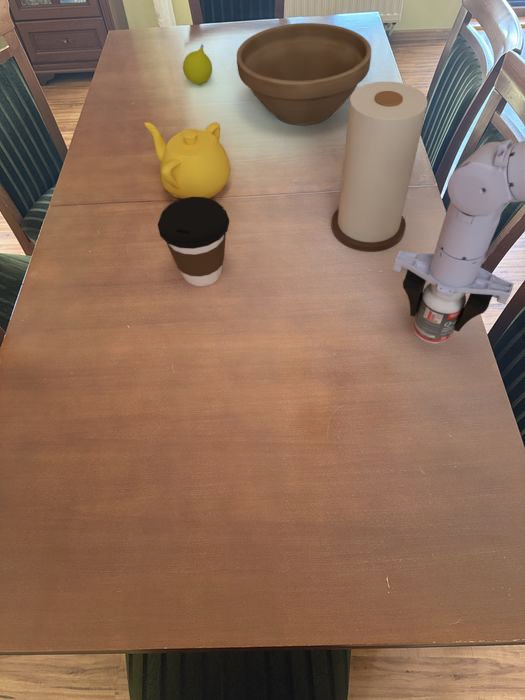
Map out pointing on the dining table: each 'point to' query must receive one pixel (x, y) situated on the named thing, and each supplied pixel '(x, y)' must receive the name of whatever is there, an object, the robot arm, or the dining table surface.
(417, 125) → the paper towel roll
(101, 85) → the dining table surface
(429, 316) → the pill bottle
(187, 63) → the yellow-green pear
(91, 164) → the dining table surface
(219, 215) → the coffee cup
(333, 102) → the flower pot
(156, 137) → the teapot
